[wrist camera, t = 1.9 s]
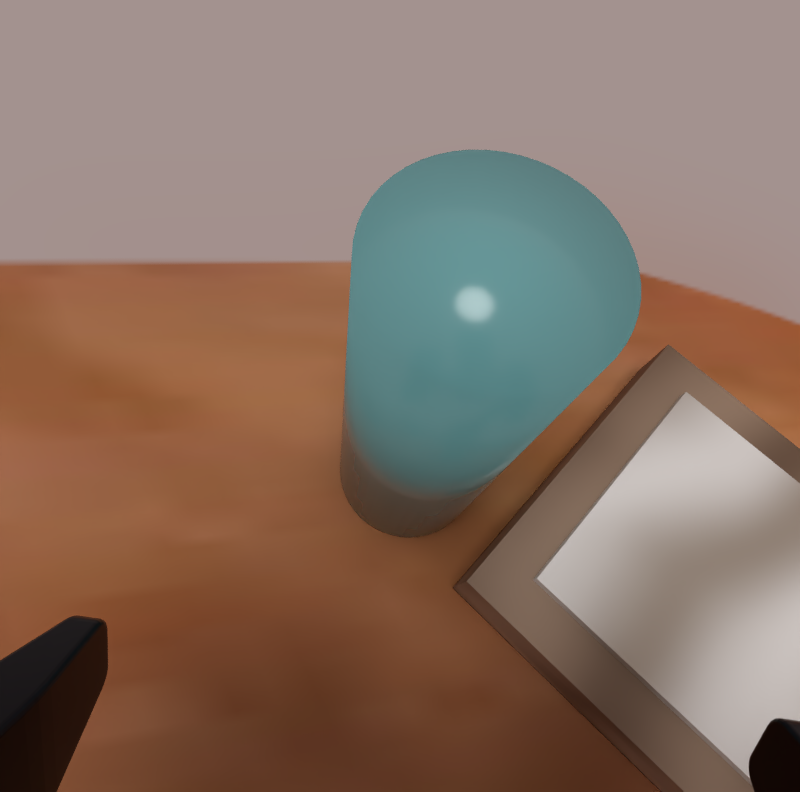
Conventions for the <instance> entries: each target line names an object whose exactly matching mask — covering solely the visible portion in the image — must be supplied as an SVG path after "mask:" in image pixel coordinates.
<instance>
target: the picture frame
mask: <svg viewBox="0 0 800 792" xmlns="http://www.w3.org/2000/svg"><path fill="white" fill-rule="evenodd" d="M453 589H454V590H455V591H457V592H458V593H459V594H460V595H461V596H462V597H463V598H464V599H465V600H466V601H467V602H468V603H469V604H470V605H471V606H472V607H473V608H474V609H475V610H476V611H477V612H478V613H479V614H480V615H481V616H482V617H483V618H484V619H485V620H486V621H487V622H488V623H489V624H490V625H491V626H492V627H493V628H494V629H495V630H496V631H497V632H499V633H500V634H501V635H502V636H503V637H504V638H505V639H506V640H507V641H508V642H509V643H510V644H511V645H512V646H513V647H514V648H515V649H516V650H517V651H518V652H519V653H520V654H521V655H522V656H523V657H524V658H525V659H526V660H527V661H528V662H529V663H530V664H531V665H532V666H533V667H534V668H535V669H536V670H537V671H538V672H539V673H540V674H542V675H543V676H544V677H545V678H546V679H547V680H548V681H549V682H550V683H551V684H552V685H553V686H554V687H555V688H556V689H557V690H558V691H559V692H560V693H561V694H562V695H563V696H564V697H565V698H566V699H567V700H568V701H569V702H570V703H571V704H572V705H573V706H574V707H575V708H576V709H577V710H578V711H579V712H580V713H581V714H582V715H584V716H585V717H586V718H587V719H588V720H589V721H590V722H591V723H592V724H593V725H594V726H595V727H596V728H597V729H598V730H599V731H600V732H601V733H602V734H603V735H604V736H605V737H606V738H607V739H608V740H609V741H610V742H611V743H612V744H613V745H614V746H615V747H616V748H617V749H618V750H619V751H620V752H621V753H622V754H623V755H624V756H626V757H627V758H628V759H629V760H630V761H631V762H632V763H633V764H634V765H635V766H636V767H637V768H638V769H639V770H640V771H641V772H642V773H643V774H644V775H645V776H646V777H647V778H648V779H649V780H650V781H651V782H652V783H653V784H654V785H655V786H656V787H657V788H658V789H659V790H660V791H661V792H754V789H753V786H752V783H751V780H750V776H749V758H750V756H751V754H752V752H753V750H754V748H755V747H756V745H757V743H758V741H759V740H760V738H761V736H762V734H763V732H764V731H765V729H766V727H767V725H768V724H769V722H770V721H772V720H773V719H775V718H783V719H790V720H797V721H800V449H799V448H798V447H797V446H795V445H794V444H793V443H792V442H790V441H789V440H788V439H787V438H785V437H784V436H783V435H782V434H780V433H779V432H778V431H776V430H775V429H774V428H773V427H771V426H770V425H769V424H768V423H766V422H765V421H764V420H763V419H761V418H760V417H759V416H758V415H756V414H755V413H754V412H753V411H751V410H750V409H749V408H748V407H746V406H745V405H744V404H743V403H741V402H740V401H739V400H737V399H736V398H735V397H734V396H732V395H731V394H730V393H729V392H727V391H726V390H725V389H724V388H722V387H721V386H720V385H719V384H717V383H716V382H715V381H714V380H712V379H711V378H710V377H709V376H707V375H706V374H705V373H704V372H702V371H701V370H700V369H698V368H697V367H696V366H695V365H693V364H692V363H691V362H690V361H688V360H687V359H686V358H685V357H683V356H682V355H681V354H680V353H678V352H677V351H676V350H675V349H673V348H672V347H671V346H670V345H667V346H666V347H665V348H664V349H663V350H662V351H660V352H659V353H658V354H657V355H656V356H655V357H654V358H653V359H651V360H650V361H649V362H648V363H647V364H646V365H645V366H644V367H642V368H641V369H640V370H639V371H638V372H637V374H636V375H635V376H634V377H633V378H632V379H631V381H630V382H629V383H628V384H627V385H626V386H625V388H624V389H623V390H622V391H621V392H620V393H619V395H618V396H617V397H616V398H615V399H614V400H613V402H612V403H611V404H610V405H609V406H608V407H607V409H606V410H605V411H604V412H603V413H602V414H601V416H600V417H599V418H598V419H597V420H596V421H595V423H594V424H593V425H592V426H591V427H590V428H589V430H588V431H587V432H586V433H585V434H584V435H583V436H582V438H581V439H580V440H579V441H578V442H577V443H576V445H575V446H574V447H573V448H572V449H571V450H570V452H569V453H568V454H567V455H566V456H565V457H564V459H563V460H562V461H561V462H560V463H559V464H558V466H557V467H556V468H555V469H554V470H553V471H552V473H551V474H550V475H549V476H548V477H547V478H546V480H545V481H544V482H543V483H542V484H541V485H540V487H539V488H538V489H537V490H536V491H535V492H534V494H533V495H532V496H531V497H530V498H529V499H528V501H527V502H526V503H525V504H524V505H523V506H522V508H521V509H520V510H519V511H518V512H517V513H516V515H515V516H514V517H513V518H512V519H511V520H510V522H509V523H508V524H507V525H506V526H505V527H504V529H503V530H502V531H501V532H500V533H499V534H498V536H497V537H496V538H495V539H494V540H493V541H492V543H491V544H490V545H489V546H488V547H487V548H486V550H485V551H484V552H483V553H482V554H481V555H480V557H479V558H478V559H477V560H476V561H475V562H474V564H473V565H472V566H471V567H470V568H469V569H468V571H467V572H466V573H465V574H464V575H463V576H462V578H461V579H460V580H459V581H458V582H457V583H456V585H455V586H454V587H453Z"/></svg>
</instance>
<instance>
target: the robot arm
mask: <svg viewBox="0 0 800 792" xmlns="http://www.w3.org/2000/svg"><path fill="white" fill-rule="evenodd" d="M107 670H108V637H107V625H106V622H105V621H104V620H102V619H98V618H91V617H84V616H72V617H69V618H67V619H65V620H64V621H62V622H61V623H59V624H57V625H56V626H54V627H53V628H51V629H50V630H48V631H46V632H45V633H43V634H42V635H40V636H38V637H37V638H35V639H34V640H32V641H30V642H29V643H27V644H26V645H24V646H23V647H21V648H19V649H18V650H16V651H15V652H13V653H11V654H10V655H8V656H7V657H5V658H3V659H2V660H0V792H57V790H58V788H59V785H60V783H61V781H62V778H63V776H64V774H65V772H66V769H67V767H68V765H69V763H70V760H71V758H72V756H73V753H74V751H75V749H76V747H77V744H78V742H79V740H80V738H81V735H82V733H83V731H84V728H85V726H86V724H87V722H88V719H89V717H90V715H91V712H92V710H93V708H94V706H95V703H96V701H97V699H98V697H99V694H100V692H101V690H102V687H103V685H104V682H105V679H106V675H107ZM749 776H750V780H751V783H752V786H753V789H754V792H800V721H797V720H790V719H783V718H775V719H773V720H772V721H770V722H769V724H768V725H767V727H766V729H765V731H764V732H763V734H762V736H761V738H760V740H759V741H758V743H757V745H756V747H755V748H754V750H753V752H752V754H751V756H750V758H749Z"/></svg>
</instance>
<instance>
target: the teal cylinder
mask: <svg viewBox="0 0 800 792" xmlns="http://www.w3.org/2000/svg"><path fill="white" fill-rule="evenodd" d="M640 302H641V280H640V273H639V267H638V264H637V260H636V257H635V254H634V251H633V249H632V246H631V244H630V242H629V239H628V237H627V236H626V234H625V232H624V231H623V229H622V227H621V226H620V224H619V222H618V221H617V220H616V218H615V217H614V216H613V215H612V213H611V212H610V211H609V210H608V208H607V207H606V206H605V205H604V204H603V203H602V202H601V201H600V200H599V199H598V198H597V197H596V196H595V195H594V194H592V193H591V192H590V191H589V190H588V189H586V188H585V187H584V186H583V185H581V184H580V183H578V182H577V181H575V180H574V179H573V178H571V177H570V176H568V175H566V174H564V173H562V172H560V171H559V170H557V169H555V168H553V167H551V166H549V165H546V164H544V163H541V162H539V161H536V160H533V159H530V158H527V157H524V156H520V155H516V154H511V153H507V152H499V151H491V150H462V151H452V152H447V153H443V154H438V155H434V156H431V157H428V158H425V159H422V160H420V161H418V162H415V163H413V164H411V165H409V166H407V167H405V168H404V169H402V170H401V171H399V172H398V173H396V174H395V175H393V176H392V177H391V178H390V179H388V180H387V181H386V182H385V183H384V184H383V185H381V187H380V188H379V189H378V190H377V191H376V192H375V194H374V195H373V196H372V197H371V198H370V200H369V202H368V203H367V205H366V206H365V208H364V210H363V212H362V214H361V216H360V219H359V221H358V223H357V227H356V230H355V235H354V239H353V249H352V262H351V280H350V298H349V317H348V335H347V353H346V371H345V389H344V407H343V425H342V443H341V462H340V476H341V482H342V487H343V490H344V493H345V496H346V498H347V500H348V502H349V503H350V505H351V506H352V508H353V509H354V511H355V512H356V513H357V514H358V515H359V516H360V517H361V518H362V519H363V520H364V521H365V522H366V523H368V524H369V525H371V526H372V527H374V528H375V529H377V530H380V531H382V532H384V533H387V534H390V535H394V536H399V537H420V536H425V535H429V534H431V533H434V532H437V531H439V530H441V529H442V528H444V527H446V526H447V525H448V524H450V523H451V522H452V521H453V520H454V519H455V518H456V517H457V516H459V514H460V513H461V512H462V511H463V510H464V509H465V508H466V507H467V506H468V505H469V504H470V503H471V502H472V501H473V500H474V499H475V498H476V497H477V496H478V495H479V494H480V493H481V492H482V491H483V490H484V489H485V488H486V487H487V486H488V485H489V484H490V483H491V482H492V481H493V480H494V479H495V478H496V477H497V476H498V475H499V474H500V473H501V472H502V471H503V470H504V469H505V468H506V467H507V466H508V465H509V464H510V463H511V462H512V461H513V460H514V459H515V458H516V457H517V456H518V455H519V454H520V453H521V452H522V451H523V450H524V449H525V448H526V447H527V446H528V445H529V444H530V443H531V442H532V441H533V440H534V439H535V438H536V437H537V436H538V435H539V434H540V433H541V432H542V431H543V430H544V429H545V428H546V427H547V426H548V425H549V424H550V423H551V422H552V421H553V420H554V419H555V418H556V417H557V416H558V415H559V414H560V413H561V412H562V411H563V410H564V409H565V408H566V407H567V406H568V405H569V404H570V403H571V402H572V401H573V400H574V399H575V398H576V397H577V396H578V395H579V394H580V393H581V392H582V391H583V390H584V389H585V388H586V387H587V386H588V385H589V384H590V383H591V382H592V381H593V380H594V379H595V378H596V377H597V376H598V375H599V374H600V373H601V372H602V371H603V370H604V369H605V368H606V367H607V366H608V365H609V364H610V363H611V362H612V361H613V360H614V359H615V358H616V357H617V356H618V354H619V353H620V352H621V350H622V349H623V348H624V347H625V345H626V344H627V342H628V340H629V338H630V336H631V334H632V332H633V330H634V327H635V324H636V321H637V318H638V315H639V309H640Z"/></svg>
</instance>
